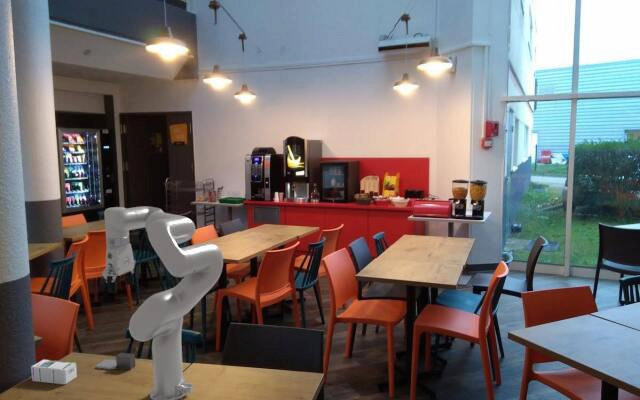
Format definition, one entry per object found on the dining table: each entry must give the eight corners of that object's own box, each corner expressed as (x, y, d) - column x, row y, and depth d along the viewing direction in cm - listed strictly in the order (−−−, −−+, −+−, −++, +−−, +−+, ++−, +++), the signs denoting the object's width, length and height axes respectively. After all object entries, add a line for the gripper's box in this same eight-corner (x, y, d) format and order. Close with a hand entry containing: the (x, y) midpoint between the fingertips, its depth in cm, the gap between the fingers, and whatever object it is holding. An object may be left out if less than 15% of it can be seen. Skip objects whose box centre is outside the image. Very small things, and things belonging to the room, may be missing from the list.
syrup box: (64, 369, 165) (30, 365, 168) (66, 385, 165) (31, 381, 168) (76, 362, 170) (42, 358, 173) (77, 377, 171) (43, 373, 174)
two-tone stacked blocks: (137, 365, 180) (136, 353, 179) (128, 371, 175) (128, 358, 174) (105, 362, 183) (104, 350, 182) (96, 368, 178) (95, 355, 177)
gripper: (111, 247, 156) (114, 296, 158) (141, 237, 173) (144, 282, 175) (92, 246, 158) (95, 295, 160) (124, 236, 174) (126, 281, 176)
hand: (121, 288), depth 167 cm, fingers open, 9 cm apart
